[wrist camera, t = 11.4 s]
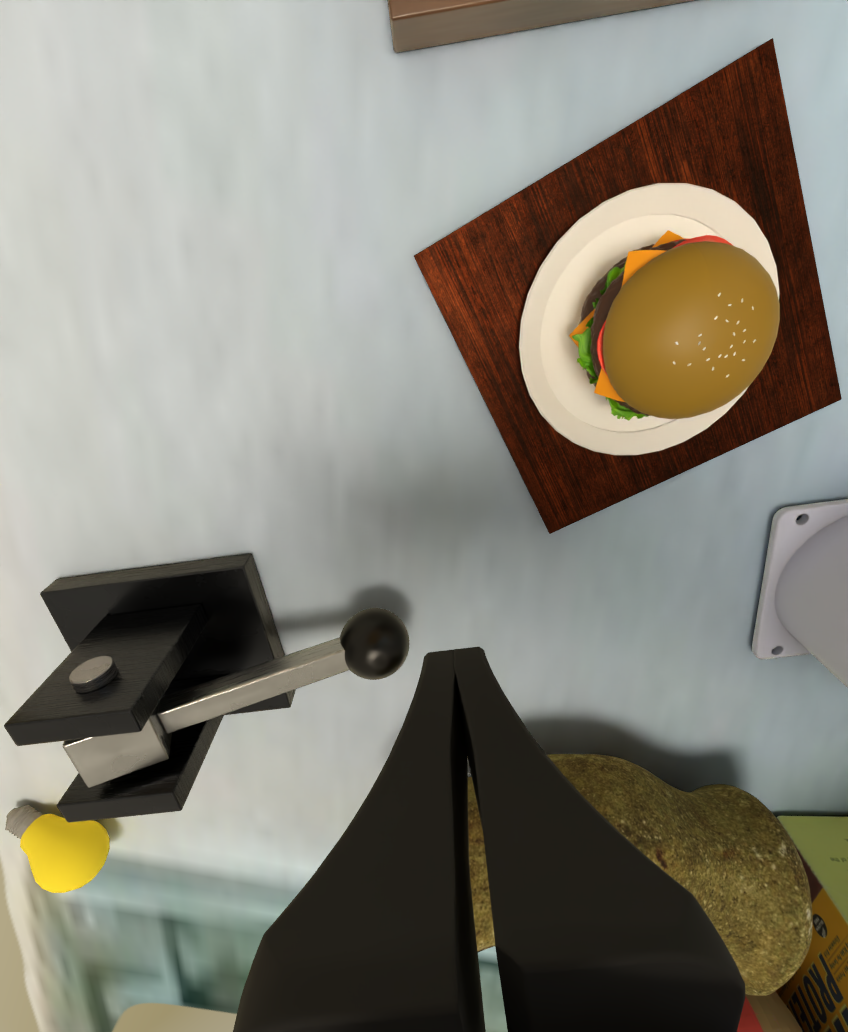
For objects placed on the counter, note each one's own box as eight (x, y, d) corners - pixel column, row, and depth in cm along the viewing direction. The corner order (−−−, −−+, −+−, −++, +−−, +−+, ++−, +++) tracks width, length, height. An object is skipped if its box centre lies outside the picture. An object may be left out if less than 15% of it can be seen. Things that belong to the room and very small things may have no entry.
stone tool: (716, 884, 31) (753, 730, 29) (846, 1068, 22) (910, 862, 20) (376, 862, 29) (396, 700, 27) (368, 1052, 20) (397, 828, 19)
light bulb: (130, 826, 29) (114, 863, 31) (45, 770, 30) (33, 808, 31) (79, 881, 26) (64, 920, 27) (-15, 817, 27) (-26, 858, 28)
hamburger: (547, 529, 22) (584, 601, 17) (413, 256, 18) (412, 247, 13) (832, 396, 20) (971, 435, 15) (763, 45, 15) (928, -68, 10)
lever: (391, 586, 23) (413, 622, 20) (402, 639, 24) (423, 679, 22) (76, 687, 20) (53, 744, 17) (106, 742, 21) (90, 804, 18)
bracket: (252, 552, 23) (182, 666, 16) (296, 689, 26) (254, 831, 19) (56, 578, 23) (-90, 699, 16) (124, 709, 26) (26, 854, 20)
